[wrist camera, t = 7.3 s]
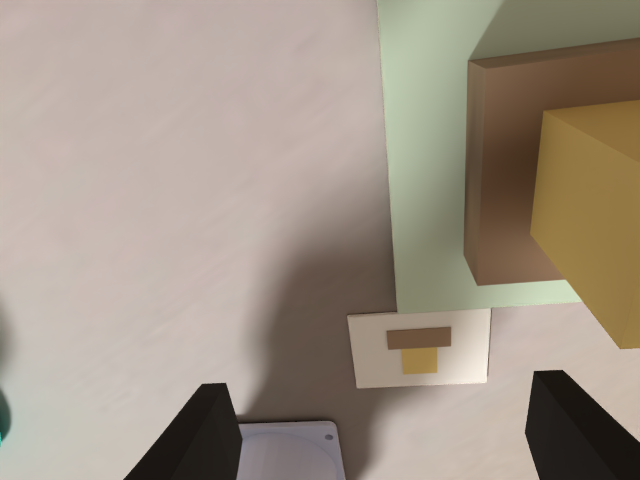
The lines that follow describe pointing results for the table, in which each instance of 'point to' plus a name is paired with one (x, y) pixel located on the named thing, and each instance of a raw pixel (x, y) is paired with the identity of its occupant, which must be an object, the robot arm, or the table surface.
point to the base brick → (526, 145)
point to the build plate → (461, 129)
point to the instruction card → (420, 348)
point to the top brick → (593, 209)
